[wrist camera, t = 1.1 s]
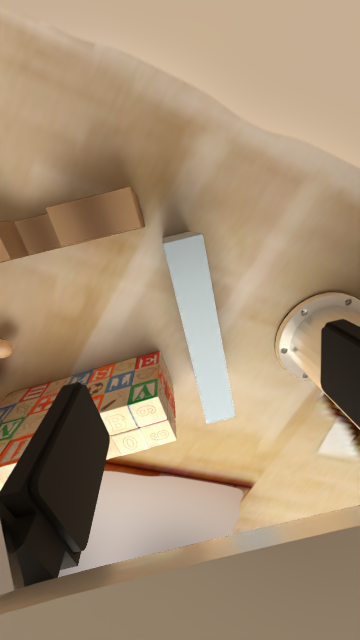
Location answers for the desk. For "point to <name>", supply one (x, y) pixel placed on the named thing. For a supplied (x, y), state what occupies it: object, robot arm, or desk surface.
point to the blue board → (200, 322)
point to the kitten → (5, 348)
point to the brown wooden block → (71, 224)
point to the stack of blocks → (111, 401)
